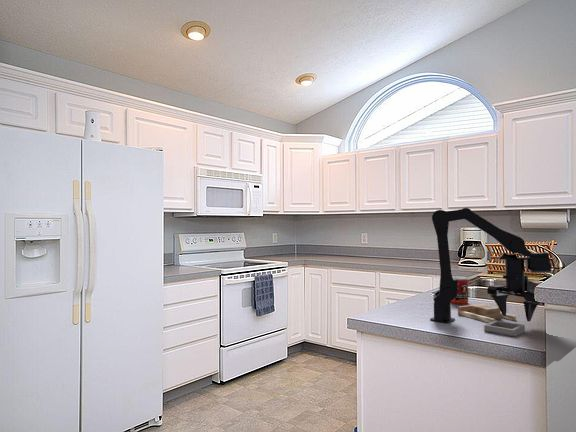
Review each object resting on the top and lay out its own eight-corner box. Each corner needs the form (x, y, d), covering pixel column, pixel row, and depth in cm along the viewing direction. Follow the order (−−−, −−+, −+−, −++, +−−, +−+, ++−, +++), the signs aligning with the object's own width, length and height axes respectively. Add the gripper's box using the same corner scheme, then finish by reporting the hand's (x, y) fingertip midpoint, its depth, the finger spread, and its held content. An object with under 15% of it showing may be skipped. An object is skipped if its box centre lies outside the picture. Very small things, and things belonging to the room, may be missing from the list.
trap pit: (514, 336, 126) (514, 330, 126) (484, 331, 133) (484, 325, 133) (524, 331, 132) (524, 324, 132) (495, 326, 139) (495, 320, 139)
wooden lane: (516, 320, 146) (516, 311, 146) (492, 323, 142) (492, 315, 142) (480, 311, 161) (480, 303, 161) (457, 314, 156) (457, 306, 157)
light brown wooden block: (500, 319, 150) (500, 307, 150) (487, 320, 147) (487, 309, 148) (483, 314, 157) (482, 303, 157) (470, 316, 155) (470, 305, 155)
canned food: (457, 305, 173) (456, 279, 173) (445, 301, 181) (444, 276, 181) (472, 303, 175) (471, 278, 175) (460, 300, 183) (459, 275, 183)
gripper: (557, 273, 135) (559, 321, 135) (507, 268, 152) (508, 310, 152) (534, 276, 130) (536, 325, 130) (485, 270, 148) (486, 314, 147)
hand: (516, 318), depth 140 cm, fingers open, 9 cm apart
